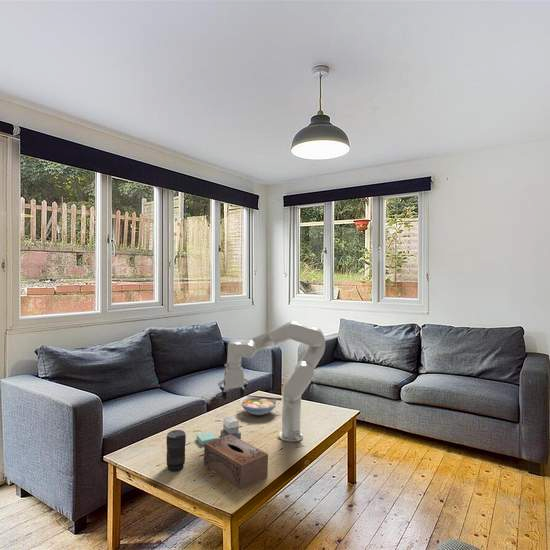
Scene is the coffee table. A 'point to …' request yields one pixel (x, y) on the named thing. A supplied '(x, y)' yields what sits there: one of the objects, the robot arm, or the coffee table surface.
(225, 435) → the stand
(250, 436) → the coffee table surface
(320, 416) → the coffee table surface
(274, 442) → the coffee table surface
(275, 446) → the coffee table surface
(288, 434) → the robot arm
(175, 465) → the camera lens
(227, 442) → the tissue box cover
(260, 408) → the ramen bowl
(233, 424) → the block
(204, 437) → the stand
